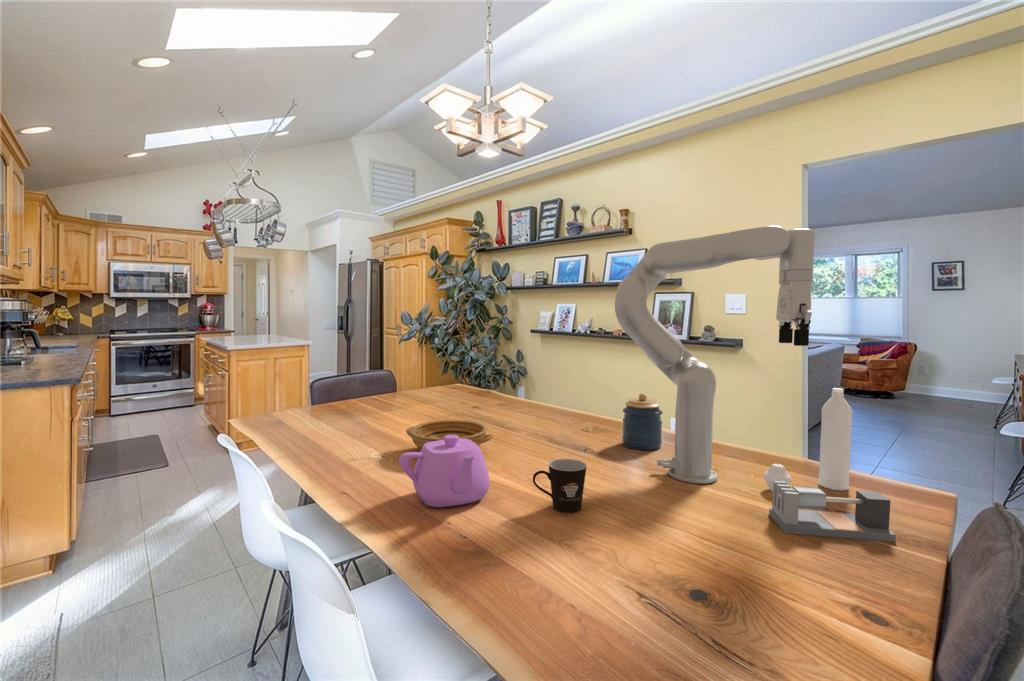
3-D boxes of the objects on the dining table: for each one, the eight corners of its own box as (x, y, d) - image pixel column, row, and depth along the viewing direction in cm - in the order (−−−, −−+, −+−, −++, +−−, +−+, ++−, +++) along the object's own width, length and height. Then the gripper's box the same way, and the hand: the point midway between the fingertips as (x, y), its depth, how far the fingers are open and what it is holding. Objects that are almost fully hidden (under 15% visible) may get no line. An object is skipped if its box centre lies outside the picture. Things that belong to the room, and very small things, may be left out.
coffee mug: (588, 502, 110) (589, 461, 110) (582, 517, 102) (582, 473, 102) (541, 496, 114) (541, 455, 114) (531, 510, 106) (531, 467, 106)
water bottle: (848, 493, 117) (853, 393, 115) (817, 487, 121) (822, 391, 119) (848, 482, 124) (853, 389, 123) (819, 477, 128) (823, 386, 126)
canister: (667, 451, 152) (668, 397, 151) (626, 451, 152) (627, 397, 151) (655, 440, 165) (656, 390, 164) (618, 440, 165) (619, 390, 164)
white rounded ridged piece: (767, 484, 123) (768, 458, 122) (794, 490, 118) (795, 463, 118) (759, 490, 118) (760, 463, 118) (786, 497, 114) (788, 469, 114)
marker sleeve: (798, 508, 97) (799, 492, 97) (791, 501, 101) (792, 486, 101) (825, 510, 96) (826, 494, 96) (817, 503, 100) (818, 487, 100)
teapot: (392, 493, 116) (392, 433, 115) (473, 480, 125) (473, 424, 124) (414, 532, 95) (413, 460, 94) (508, 514, 104) (508, 447, 103)
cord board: (784, 533, 96) (786, 494, 95) (769, 514, 104) (770, 479, 104) (895, 542, 92) (897, 502, 92) (869, 522, 101) (871, 485, 100)
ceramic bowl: (506, 447, 155) (506, 423, 154) (475, 471, 132) (475, 443, 132) (427, 439, 165) (427, 416, 164) (386, 459, 142) (386, 433, 142)
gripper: (767, 280, 130) (765, 342, 131) (793, 275, 113) (790, 346, 114) (797, 280, 129) (794, 342, 130) (827, 275, 112) (824, 347, 113)
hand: (792, 344), depth 122 cm, fingers open, 9 cm apart
